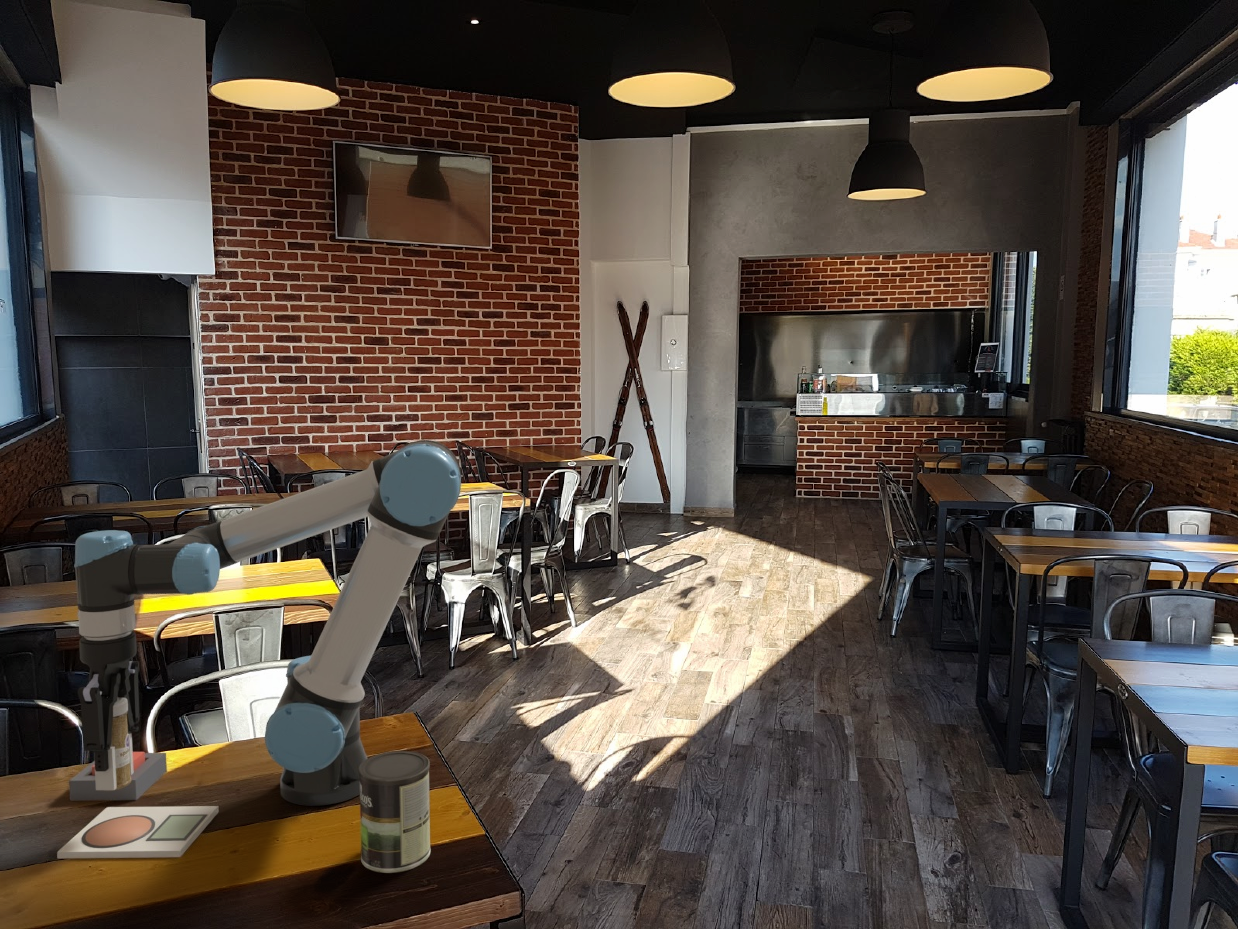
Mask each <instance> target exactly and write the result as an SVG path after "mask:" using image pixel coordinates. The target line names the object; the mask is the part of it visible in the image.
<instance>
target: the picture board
mask: <svg viewBox="0 0 1238 929" xmlns="http://www.w3.org/2000/svg"><path fill="white" fill-rule="evenodd" d="M219 808H220V807H219V805H211V806H210V805H203V806H200V805H199V806H196V805H195V806H191V805H190V806H188V805H187V806H185V805H184V806H181V805H180V806H107V807H106V808H104V809H103V810H102V811H101V812H99V814H97V816H95V817H94V818H93V819H92V820H91V821H90V822H89V823H88V824H87V825H86V826H84V827H83V828H82V829H81V830H79V832H78V833H77V834H76V835H74V837H72V838H71V839H70V840H69V841H68V842H67V843H65V844H64V845H63V846H62V847H61V848H60V849H59V850H58V851H57V852H56V856H57V857H56V858H57V859H121V858H122V859H129V858H133V859H135V858H140V859H141V858H142V859H145V858H150V859H151V858H181V857H182V856H183V855H184V853H185V852H186V851H187V850H188V849H189V847H190V846H192V844H193V843H194V842H195V840H196V839H197V838H198V837H199V836H200V835H201V833H203V831H204V830H205V829H206V827H208V825H209V824H210V823H211V822H212V821H213V819H215V817H216V816H217V815H218V814H219V812H220V811H219Z"/></svg>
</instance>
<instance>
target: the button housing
mask: <svg viewBox="0 0 1238 929" xmlns="http://www.w3.org/2000/svg"><path fill="white" fill-rule="evenodd" d="M93 765H95V763H94V760H93V761H92V762H91V763H89V764H88V765H87V766H86V767H84V768H83V769H82V770H81V771H79V772H78V773H77V774H76V775H74V776H73V777H72V778H70V779H69V780H68V783H69V784H68V785H69V800H70V801H76V802H77V801H79V802H80V801H81V802H82V801H137V800H138V799H140V798H141V796H142V795H144V794H145V793H146V792H147V791H148V790H149V789H151V787H152V786H153V785H154V784H156V782H157V781H159V780H160V779H161V778H162V776H164V775H165V774H166V773H167V772H168V766H167V752H145V762H144V763H143V764H141V765H140V766H139V767H138V768H137V769H136V770H135V771H134V773H133V774H132V775H130V777H131V783H130V784H128V785H127V786H125V787H123V788H121V789H118V790H111V791H105V790H96V783H95V775H92V766H93Z"/></svg>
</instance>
